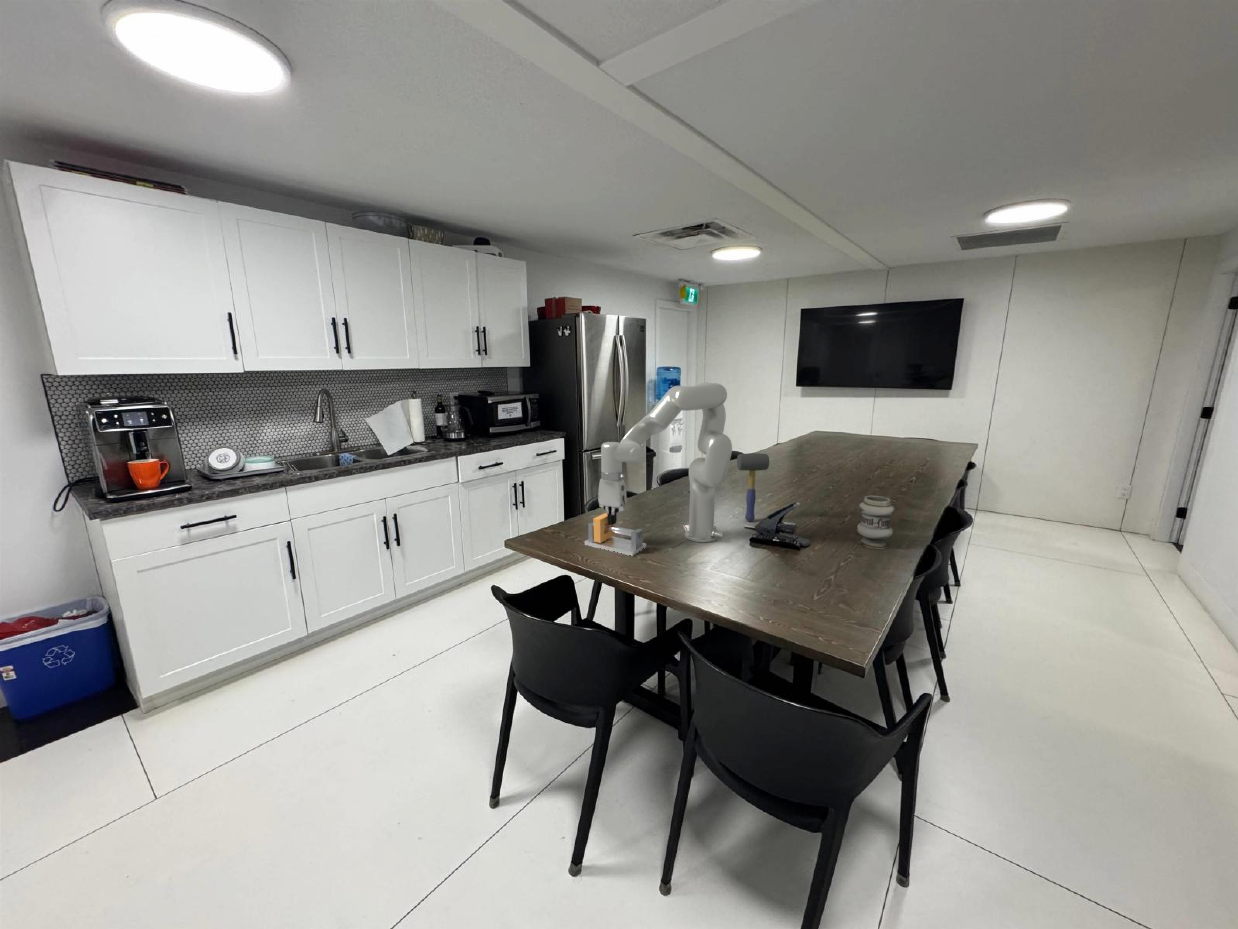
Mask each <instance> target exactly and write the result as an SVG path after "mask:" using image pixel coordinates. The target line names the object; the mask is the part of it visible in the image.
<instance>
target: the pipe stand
mask: <svg viewBox="0 0 1238 929" xmlns="http://www.w3.org/2000/svg"><path fill="white" fill-rule="evenodd" d="M587 529H588V531H587V532H588V533H587V534H588V535H587V536H588V539H586V540H584V546H587V545H588V546H589V547H592V548H596V549H600V548H601V550H604V549H605V550H604V551H608V550H609V552H613V551H615V552H614V553H617V552H618V553H617V554H621V553H622V554H621V555H626V556H629V555H631V556H630V557H634V556H635V555H636V553H637V554H638V553H639V551H640V552H642V551H643V550H644V549H646V548H647V543H646V542H645V543H644V539H643V538H644V529H642V528H637V529H630V528H625V527H620V526H616V525H614V526H611V525H606V524H604V531H608V532H613V533H614V534H617V535H618V534H619V535H624V536H628V537H630V539H626V538H622V537H618V536H612V537H611V538H609V539H607V540H605V541H603V542H601V543H599V542H594V522H593V521H591V522H589V523H588V528H587ZM643 548H644V549H643ZM642 549H643V550H642Z"/></svg>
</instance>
